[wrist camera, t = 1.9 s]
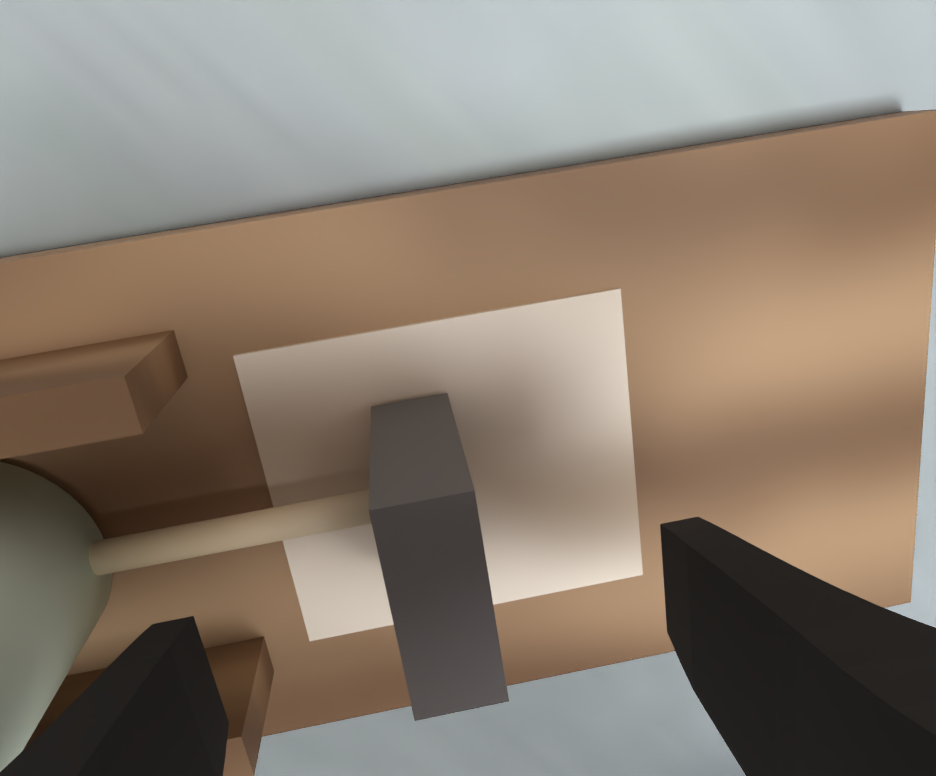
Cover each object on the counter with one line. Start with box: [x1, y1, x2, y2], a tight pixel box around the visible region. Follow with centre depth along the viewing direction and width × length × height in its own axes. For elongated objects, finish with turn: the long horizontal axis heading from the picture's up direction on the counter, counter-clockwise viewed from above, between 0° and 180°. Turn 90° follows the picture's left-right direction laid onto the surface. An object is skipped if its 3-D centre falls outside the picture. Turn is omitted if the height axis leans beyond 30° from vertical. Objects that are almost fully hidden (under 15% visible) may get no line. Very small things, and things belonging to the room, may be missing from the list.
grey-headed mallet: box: [0, 393, 509, 772], centre depth 13 cm, size 5×13×5 cm, turn 99°
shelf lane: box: [0, 110, 936, 776], centre depth 15 cm, size 12×25×4 cm, turn 99°
